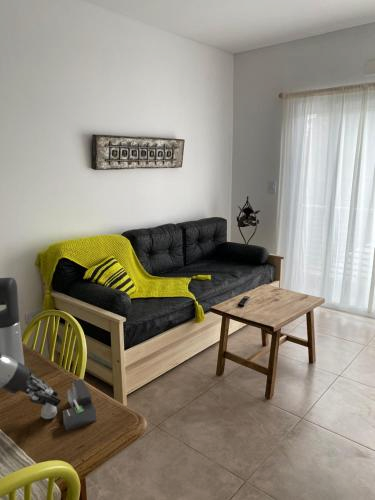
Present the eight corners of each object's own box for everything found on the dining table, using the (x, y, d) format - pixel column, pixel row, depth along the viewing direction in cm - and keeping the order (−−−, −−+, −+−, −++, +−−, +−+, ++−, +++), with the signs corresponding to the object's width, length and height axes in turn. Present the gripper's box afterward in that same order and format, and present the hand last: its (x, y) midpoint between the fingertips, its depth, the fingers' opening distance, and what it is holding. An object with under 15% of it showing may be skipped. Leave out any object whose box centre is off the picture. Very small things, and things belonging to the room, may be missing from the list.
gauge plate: (68, 399, 118) (67, 388, 117) (71, 398, 119) (70, 387, 118) (77, 420, 109) (76, 408, 108) (81, 419, 109) (80, 407, 108)
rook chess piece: (60, 412, 113) (58, 387, 111) (48, 421, 109) (45, 395, 107) (50, 408, 115) (47, 383, 113) (37, 416, 111) (35, 391, 110)
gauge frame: (56, 404, 118) (54, 386, 117) (83, 396, 122) (81, 379, 121) (66, 430, 107) (64, 411, 105) (96, 420, 111) (94, 402, 109)
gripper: (20, 373, 99) (71, 401, 107) (13, 350, 110) (60, 377, 119) (-1, 398, 97) (53, 424, 106) (-6, 372, 109) (43, 397, 118)
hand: (56, 399), depth 113 cm, fingers closed on rook chess piece, 3 cm apart
